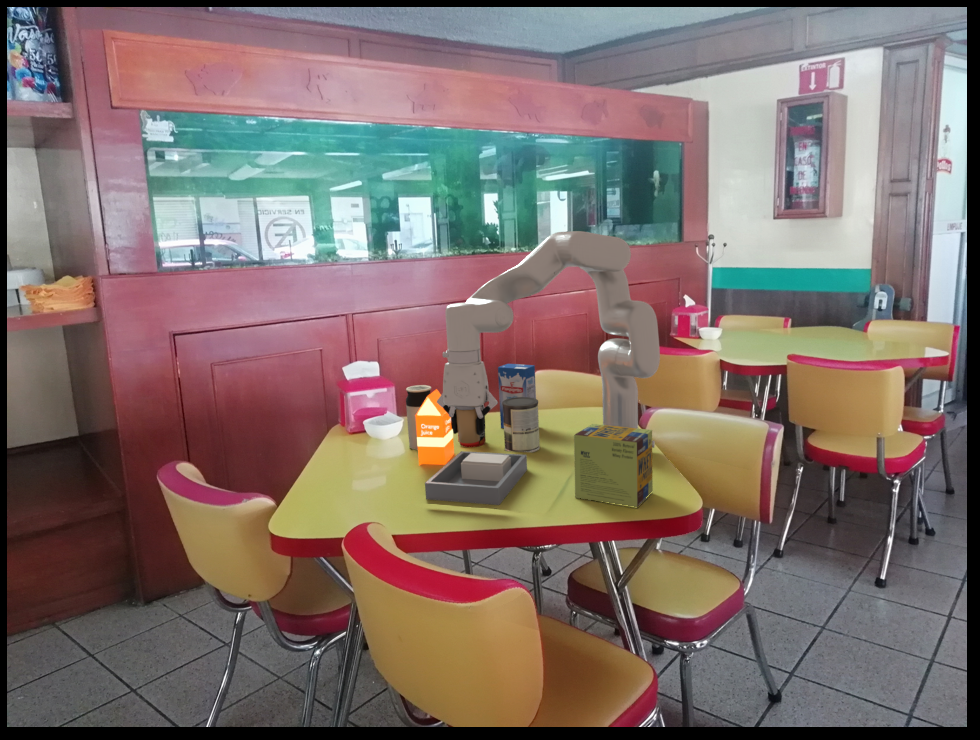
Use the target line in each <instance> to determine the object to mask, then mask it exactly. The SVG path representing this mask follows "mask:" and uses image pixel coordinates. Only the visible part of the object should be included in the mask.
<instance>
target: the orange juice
mask: <svg viewBox="0 0 980 740" xmlns="http://www.w3.org/2000/svg"><path fill="white" fill-rule="evenodd" d="M441 395H442V393H440V391H439V390H438V388H436V389H435V390H433V391H432V392H430V394H429V395H428V396H427V398H426V399H425V401H424V403H423V404H422V406H421V407H420V409H419V411H418V412H417V414H416V430H417V446H418V450H417V452H418V453H417V454H418V467H419V466H421V465H443V466H445V465H446V464H447V463H448V462H449V461H451V460H452V459H453V456H454V455H455V446H454V433H453V429H452V427H451V417H449V414H448V413H447V412H446V411H445V410H444V409H443V407H441V406H440V405H439V404H438V403H437V400H438V399H439V397H440V396H441Z"/></svg>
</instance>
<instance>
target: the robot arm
mask: <svg viewBox="0 0 980 740" xmlns="http://www.w3.org/2000/svg"><path fill="white" fill-rule="evenodd" d="M631 257H632V252H631V247H630V246H629V244H628V243H627V242H626V240H624V239H623V238H621V237H617V236H612V235H611V236H610V235H605V234H600V233H595V232H587V231H583V230H582V231H580V230H578V231H577V230H575V231H573V230H572V231H558V232H554V233H551V234H550V235H548V236H547V237H546V238H545V239H543V241H542V242H540V243H539V245H538V246H536V247H535V248H534V249H533V250H532V251H531V252H530V253H529V254H528V255H527V256H526V257H525V258H524V259H523V260H521V261H520V262H519V263H518V264H516V266H514V267H511V268H510V269H507V271H505V272H502V273H501V274H499V275H498V276H495V277H494V278H492V279H490V280H489V281H487V282H486V283H485V284H483V285H482V286H481V287H479V288H478V289H477V291H475V292H474V293H473V294H472V295H471V296H470V297H469V298H468V299H467V300H466V302H458V303H451V304H449V305H447V306H446V308H445V313H444V314H445V327H446V331H445V332H446V343H447V350H446V351H443V352H442V358H446V359H447V362H446V363H444V368H443V377H442V378H443V380H442V393H441V396H440V397H439V399H438V400H437V403H438V404H439V405H440V406H441V407H443V409H444V410H445V411H446V412H447V413H448V414H449V417H451V427H452V429H453V435H457V434H458V431H457V415H456V407H459V406H467V407H475V409H476V412H477V415H478V418H477V419H476V429H477V434H478V435H481V434H482V433H483V432H484V430H485V431H486V415H487V414H488V413H490V411H491V410H492V409H493V408H494V407H496V406H497V405H498V404H499V402H498V400H497V399H496V398H495V397H494V396H493V394H492V393H491V392H490V391H489V382H488V375H487V371H486V366H485V362H484V361H482V358H481V357H482V356H481V341H480V340H481V337H480V334H481V333H490V334H491V333H492V334H493V333H495V334H496V333H497V334H498V333H502V332H504V331H506V330H508V329H509V327H511V325H512V324H513V323H514V322H513V321H514V310H513V309H512V307H511V306H510V305H509V303H512V302H514V301H517V300H520V299H523V298H527V297H531V296H533V295H536V294H538V293H540V292H541V291H543V290H544V289H545V288H546V287H547V286H548V285H549V284H550V283H551V282H552V281H553V280H554V279H556V277H558V275H560V274H561V273H562V272H563V271H564V270H565V269H566V268H573V267H574V268H576V267H577V268H579V269H580V270H583V271H584V272H585V273H587V275H588V276H589V277H590V278H591V279H592V281H593V283H594V285H595V286H594V287H595V290H596V298H597V309H598V316H599V317H598V318H599V325H600V327H601V329H602V331H603V332H605V333H607V334H609V335H614V336H621V337H627V338H620V337H619V338H617V337H616V338H610V339H607V340H606V341H604V342H603V343H602V344H601V346H600V347H599V349H598V353H597V361H598V368H599V371H600V376H601V386H602V387H601V388H602V389H601V391H602V425H609V426H620V427H629V428H637V429H639V409H638V408H639V406H638V405H639V404H638V403H639V402H638V401H639V399H638V397H639V391H638V390H639V389H638V384H637V381H636V379H635V378H638V379H648V378H651V377H653V376H654V375H655V374H656V373H657V371H658V370H659V367H660V366H659V365H660V361H661V359H660V358H661V353H660V352H661V350H660V349H661V348H660V338H659V337H660V336H659V328H658V327H659V326H658V325H659V324H658V318H657V315H656V312H655V310H654V309H653V307H652V305H650V303H648V302H646V301H643V300H642V301H641V300H632V299H631V295H630V294H631V293H630V288H629V281H628V277H627V275H626V274H627V273H626V272H625V270H624V269H626V267H627V266H628V265H629V263H630V261H631ZM487 402H488V405H485V403H487ZM655 444H656V443H655V440H652V449H653V448H655Z"/></svg>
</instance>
